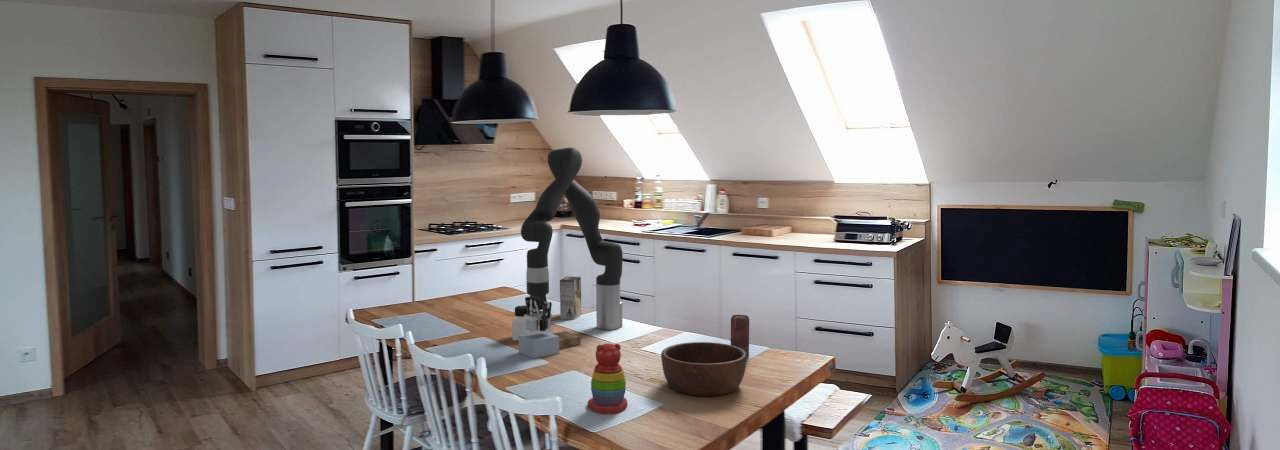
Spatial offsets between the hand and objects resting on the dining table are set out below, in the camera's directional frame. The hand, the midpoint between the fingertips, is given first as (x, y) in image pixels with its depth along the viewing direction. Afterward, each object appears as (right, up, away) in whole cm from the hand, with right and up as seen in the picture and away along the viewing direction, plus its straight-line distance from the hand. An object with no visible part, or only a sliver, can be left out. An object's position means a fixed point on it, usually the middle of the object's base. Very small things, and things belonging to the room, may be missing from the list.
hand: (538, 329), depth 266 cm
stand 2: (+6, -7, +12) cm, 15 cm away
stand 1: (0, -8, +1) cm, 8 cm away
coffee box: (+6, -3, +56) cm, 56 cm away
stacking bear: (+26, -14, -55) cm, 62 cm away
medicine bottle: (-8, -6, +21) cm, 23 cm away
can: (+68, -9, -6) cm, 68 cm away
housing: (0, -1, 0) cm, 1 cm away
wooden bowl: (+53, -12, -36) cm, 65 cm away
